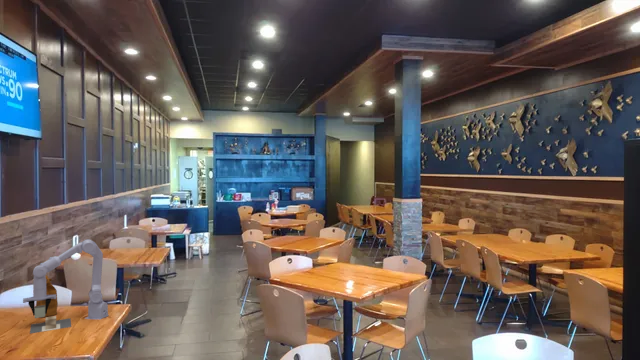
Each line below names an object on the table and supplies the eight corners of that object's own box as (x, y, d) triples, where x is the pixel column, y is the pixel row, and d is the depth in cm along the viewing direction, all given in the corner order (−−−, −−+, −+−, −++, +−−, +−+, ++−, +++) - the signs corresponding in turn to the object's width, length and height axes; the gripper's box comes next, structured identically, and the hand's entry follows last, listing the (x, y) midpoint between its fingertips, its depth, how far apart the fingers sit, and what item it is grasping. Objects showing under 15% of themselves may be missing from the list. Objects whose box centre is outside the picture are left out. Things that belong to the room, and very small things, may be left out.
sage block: (45, 314, 224) (45, 304, 224) (45, 316, 220) (45, 307, 220) (35, 315, 221) (34, 306, 221) (34, 318, 217) (34, 308, 217)
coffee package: (55, 310, 246) (54, 273, 246) (58, 316, 237) (58, 277, 236) (34, 314, 240) (34, 275, 239) (37, 319, 230) (37, 280, 230)
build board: (70, 319, 231) (70, 318, 231) (71, 327, 219) (71, 326, 219) (31, 325, 222) (31, 324, 222) (29, 334, 209) (29, 333, 209)
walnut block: (56, 325, 220) (56, 315, 220) (56, 328, 217) (56, 318, 217) (45, 326, 218) (45, 317, 218) (45, 329, 214) (45, 320, 214)
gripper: (56, 284, 228) (56, 309, 228) (23, 288, 220) (23, 314, 220) (56, 287, 222) (56, 313, 222) (22, 291, 214) (22, 318, 214)
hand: (40, 314), depth 221 cm, fingers closed on sage block, 5 cm apart
